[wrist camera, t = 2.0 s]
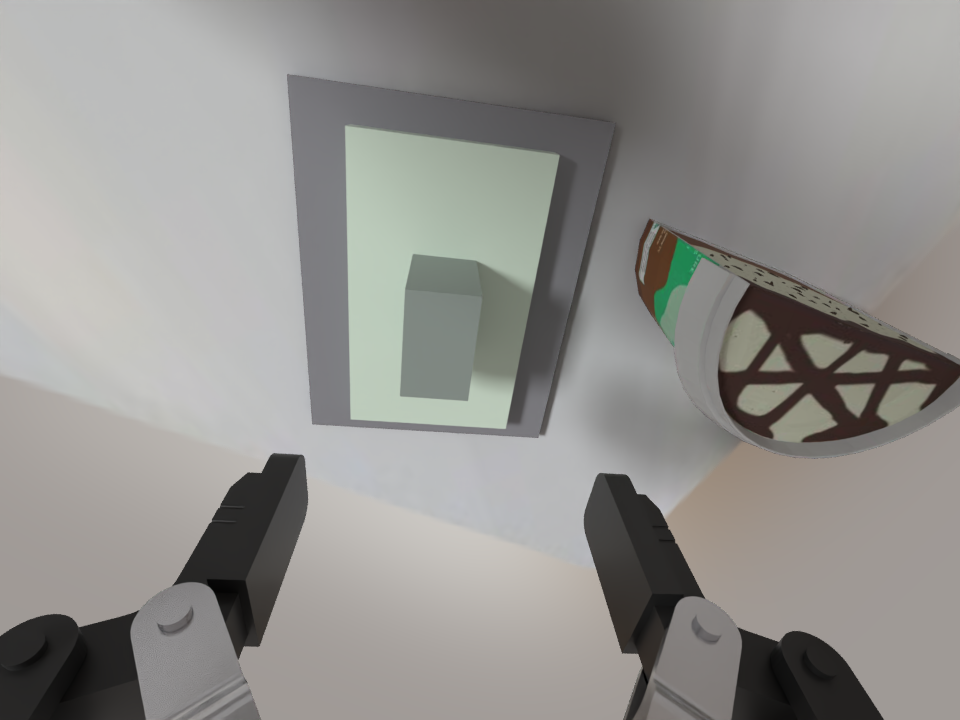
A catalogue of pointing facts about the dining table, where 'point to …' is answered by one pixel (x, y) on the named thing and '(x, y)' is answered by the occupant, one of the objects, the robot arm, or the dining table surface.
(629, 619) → the robot arm
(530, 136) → the mat
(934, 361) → the food container
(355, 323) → the lid
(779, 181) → the dining table surface
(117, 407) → the dining table surface
